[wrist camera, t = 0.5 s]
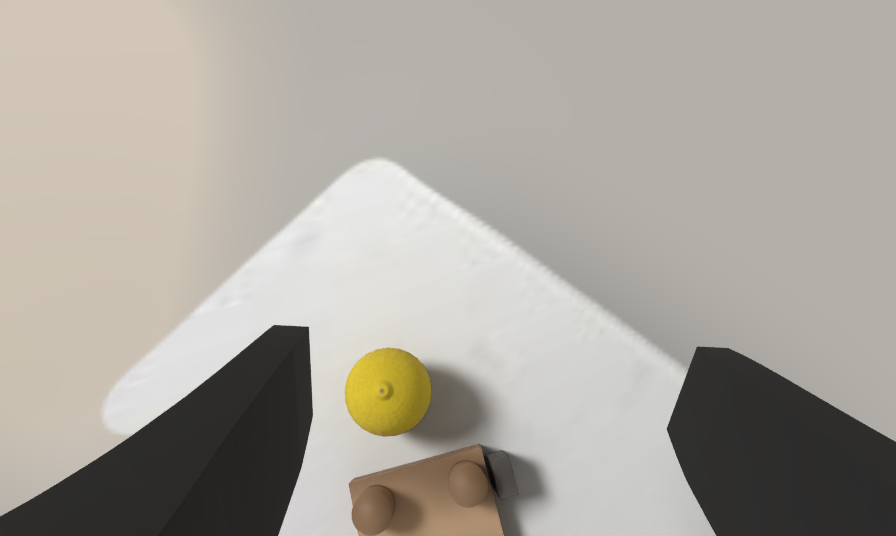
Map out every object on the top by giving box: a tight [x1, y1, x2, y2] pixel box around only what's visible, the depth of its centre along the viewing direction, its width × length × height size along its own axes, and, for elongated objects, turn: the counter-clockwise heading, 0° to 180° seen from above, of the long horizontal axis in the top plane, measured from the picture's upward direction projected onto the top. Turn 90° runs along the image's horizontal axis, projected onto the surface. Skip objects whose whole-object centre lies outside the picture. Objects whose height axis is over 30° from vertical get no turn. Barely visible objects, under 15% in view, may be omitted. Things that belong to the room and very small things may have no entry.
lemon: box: [345, 348, 432, 436], centre depth 32 cm, size 6×6×8 cm
